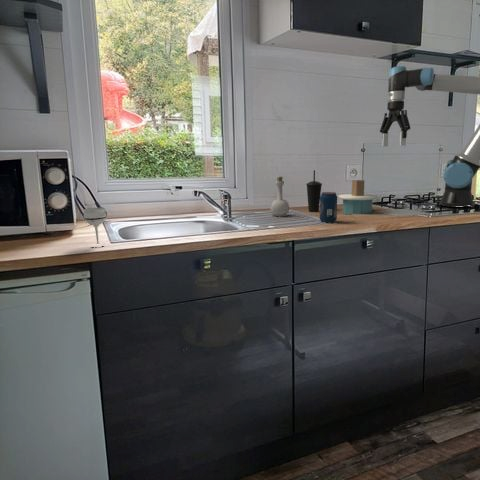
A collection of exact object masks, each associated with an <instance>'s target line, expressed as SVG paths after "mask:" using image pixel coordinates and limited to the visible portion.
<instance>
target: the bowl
mask: <svg viewBox="0 0 480 480" xmlns="http://www.w3.org/2000/svg"><path fill="white" fill-rule="evenodd" d="M372 212H373V200H345V199H342V214H344V215H352V216H353V214H354V215H364V214H365V215H366V214H371V213H372Z"/></svg>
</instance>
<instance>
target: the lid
mask: <svg viewBox="0 0 480 480" xmlns="http://www.w3.org/2000/svg"><path fill="white" fill-rule="evenodd" d="M343 199H345V200H372V201H373V200H376V199H378V196H377V194H373V193H372V194H371V193H365V179H364V180H363V179H361V180H360V179H357V180H356V179H355V180H351V193H345V194H339V195H338V200H343Z"/></svg>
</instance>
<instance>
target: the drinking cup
mask: <svg viewBox="0 0 480 480" xmlns="http://www.w3.org/2000/svg"><path fill="white" fill-rule="evenodd" d="M305 185H306V191H307V193H306V194H307V209H308V212H309V213H320V196H321V194H322V186H323V183H321V182H319V181H318V180H317V181H316V170H313V180H312V181H309V182H307V183H306V184H305Z"/></svg>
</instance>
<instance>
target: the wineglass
mask: <svg viewBox="0 0 480 480" xmlns="http://www.w3.org/2000/svg"><path fill="white" fill-rule="evenodd" d="M83 212H84V213H83V220H84V221H85V222H86V223H87V224H88V225H91V226H93V227H94V229H95V230H94V231H95V236H96V244H100V243H99V229H98V227H100V225H102V224H103V223H104V222H105V221H106V219H107V213H106V208H105V207H91V208H85V209H83Z"/></svg>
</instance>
